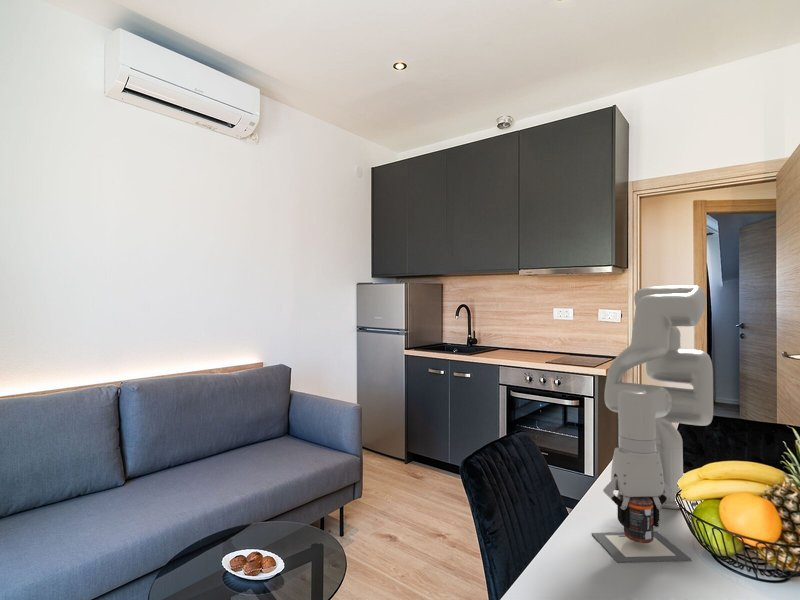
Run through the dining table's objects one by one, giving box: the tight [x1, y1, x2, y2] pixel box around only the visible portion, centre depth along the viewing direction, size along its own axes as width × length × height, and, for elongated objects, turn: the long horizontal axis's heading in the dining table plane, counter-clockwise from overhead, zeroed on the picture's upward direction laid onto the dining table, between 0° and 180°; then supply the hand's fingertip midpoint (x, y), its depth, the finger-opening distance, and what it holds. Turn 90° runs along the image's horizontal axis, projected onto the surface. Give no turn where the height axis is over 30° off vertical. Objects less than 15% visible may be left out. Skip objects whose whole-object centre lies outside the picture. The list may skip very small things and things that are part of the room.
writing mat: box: [591, 530, 693, 564], centre depth 101 cm, size 16×12×1 cm
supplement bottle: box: [623, 497, 655, 543], centre depth 101 cm, size 6×6×11 cm
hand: (638, 523), depth 101 cm, fingers closed on supplement bottle, 6 cm apart
